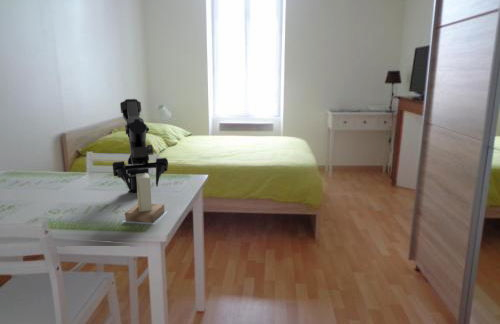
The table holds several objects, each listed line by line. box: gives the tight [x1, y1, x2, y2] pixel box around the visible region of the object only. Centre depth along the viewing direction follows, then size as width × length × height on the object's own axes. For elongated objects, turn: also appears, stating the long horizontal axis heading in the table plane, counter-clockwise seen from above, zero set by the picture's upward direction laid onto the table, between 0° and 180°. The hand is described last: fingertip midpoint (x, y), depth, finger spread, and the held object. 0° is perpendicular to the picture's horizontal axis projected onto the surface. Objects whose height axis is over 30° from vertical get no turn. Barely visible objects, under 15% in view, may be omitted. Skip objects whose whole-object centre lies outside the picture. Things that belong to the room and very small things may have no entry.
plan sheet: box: [121, 210, 169, 225], centre depth 131 cm, size 12×12×1 cm
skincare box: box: [136, 173, 152, 212], centre depth 128 cm, size 6×4×12 cm
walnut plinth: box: [124, 203, 165, 223], centre depth 130 cm, size 10×10×3 cm
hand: (143, 187), depth 127 cm, fingers open, 9 cm apart
